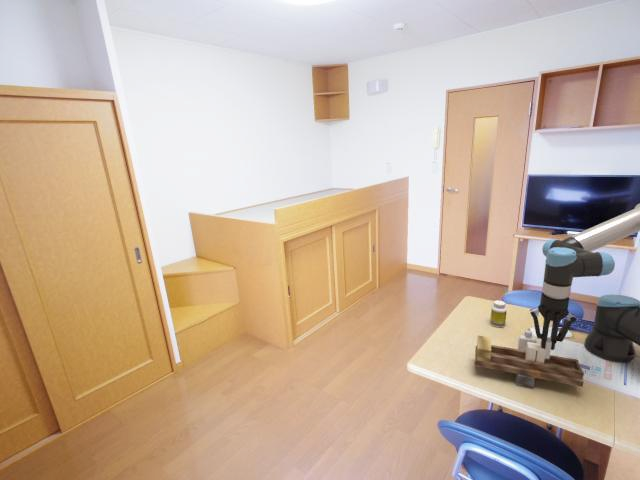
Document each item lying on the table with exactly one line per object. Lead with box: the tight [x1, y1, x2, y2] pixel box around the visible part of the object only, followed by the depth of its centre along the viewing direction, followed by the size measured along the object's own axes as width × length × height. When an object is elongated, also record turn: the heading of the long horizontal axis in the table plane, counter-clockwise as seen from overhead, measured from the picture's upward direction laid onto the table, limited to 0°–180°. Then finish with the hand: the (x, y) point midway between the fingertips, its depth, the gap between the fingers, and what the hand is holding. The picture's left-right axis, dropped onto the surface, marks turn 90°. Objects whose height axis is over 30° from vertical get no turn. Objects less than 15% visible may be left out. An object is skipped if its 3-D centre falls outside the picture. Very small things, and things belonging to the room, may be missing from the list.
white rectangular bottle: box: [517, 327, 537, 351], centre depth 131 cm, size 4×6×12 cm
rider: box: [525, 342, 546, 364], centre depth 117 cm, size 5×4×7 cm
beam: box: [474, 335, 585, 390], centre depth 119 cm, size 32×12×11 cm, turn 65°
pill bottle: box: [489, 299, 508, 328], centre depth 154 cm, size 6×6×11 cm
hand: (546, 356), depth 116 cm, fingers closed
